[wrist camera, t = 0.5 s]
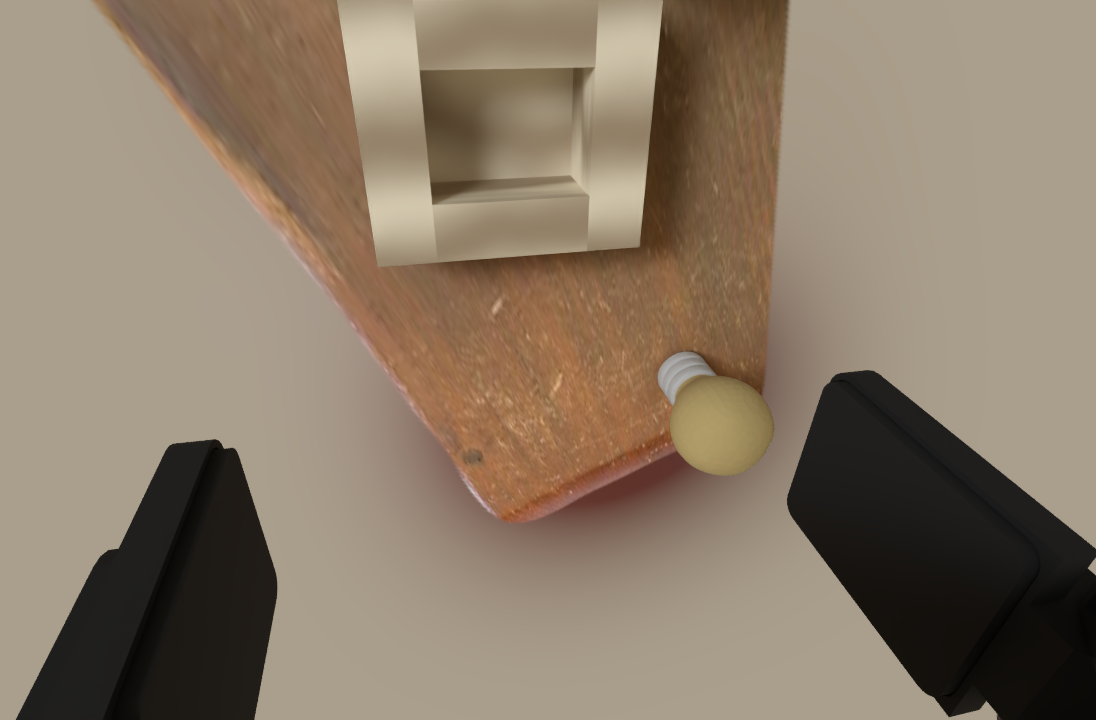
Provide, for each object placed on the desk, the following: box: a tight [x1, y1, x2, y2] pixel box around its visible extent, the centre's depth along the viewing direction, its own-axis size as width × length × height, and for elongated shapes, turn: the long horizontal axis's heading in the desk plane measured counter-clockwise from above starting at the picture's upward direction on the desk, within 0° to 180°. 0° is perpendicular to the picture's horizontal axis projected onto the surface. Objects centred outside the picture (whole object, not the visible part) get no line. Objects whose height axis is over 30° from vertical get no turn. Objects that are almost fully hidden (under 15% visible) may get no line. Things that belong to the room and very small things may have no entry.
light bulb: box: [658, 351, 774, 476], centre depth 41 cm, size 6×6×10 cm
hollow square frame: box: [337, 0, 663, 267], centre depth 31 cm, size 12×14×5 cm
